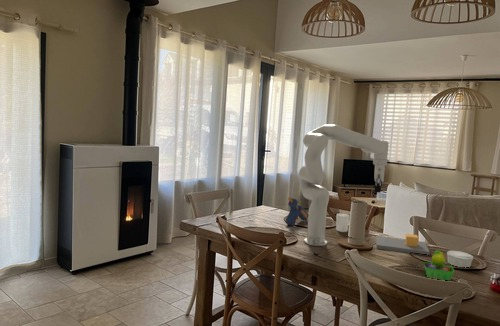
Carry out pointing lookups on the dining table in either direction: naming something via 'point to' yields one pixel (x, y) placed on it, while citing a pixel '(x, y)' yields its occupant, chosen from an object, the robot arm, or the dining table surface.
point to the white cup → (342, 222)
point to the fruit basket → (438, 267)
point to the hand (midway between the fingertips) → (377, 191)
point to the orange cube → (411, 240)
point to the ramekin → (459, 258)
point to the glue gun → (295, 212)
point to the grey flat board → (400, 245)
